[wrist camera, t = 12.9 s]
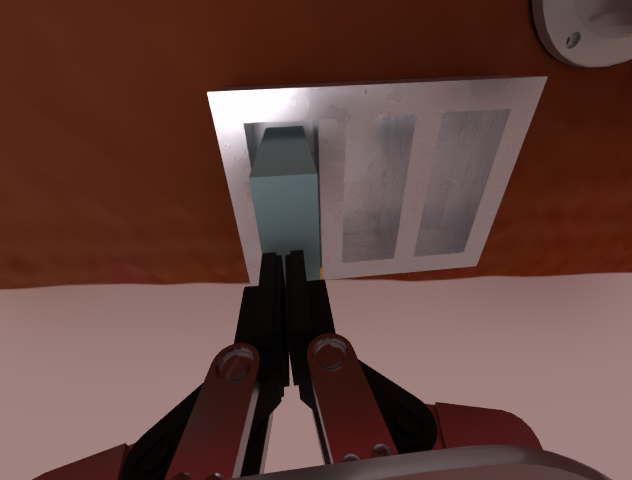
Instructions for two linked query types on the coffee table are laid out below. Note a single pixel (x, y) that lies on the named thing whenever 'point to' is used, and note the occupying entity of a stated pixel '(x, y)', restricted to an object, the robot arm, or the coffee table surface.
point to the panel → (287, 196)
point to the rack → (386, 164)
